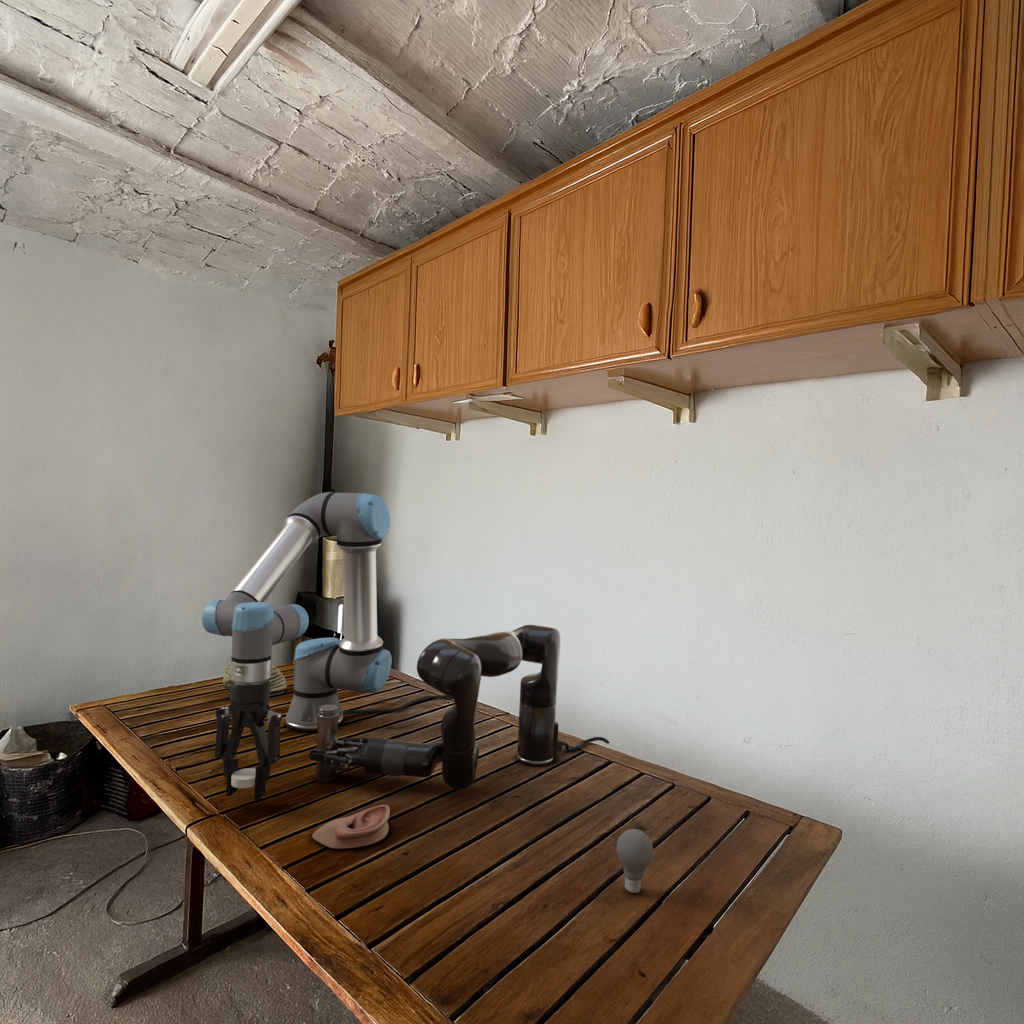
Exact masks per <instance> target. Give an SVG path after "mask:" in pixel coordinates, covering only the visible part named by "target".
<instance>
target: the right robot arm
mask: <svg viewBox="0 0 1024 1024" xmlns="http://www.w3.org/2000/svg"><path fill="white" fill-rule="evenodd" d="M562 643H563V641H562V634H561V631H560V630H559V629H558V628H556V627H551V626H545V625H536V624H525V625H522V626H519V627H518V628H515V629H513V630H510V631H508V630H506V631H498V632H497V631H496V632H492V633H488V634H485V635H478V636H472V637H467V638H466V637H465V638H439V639H436V640H434V641H433V642H431V643H429V644H428V645H427V646H426V647H425V648H424V649H423V650H422V651H421V653H420V655H419V657H418V659H417V662H416V672H417V675H418V676H419V678H420V680H421V681H422V682H424V683H425V684H426V685H427V686H429V687H431V688H432V689H434V690H435V691H438V692H440V693H442V695H447V696H449V697H452V698H451V699H453V702H454V705H452V706H450V708H449V709H447V710H446V711H445V713H444V714H443V717H442V719H441V724H440V734H441V741H440V740H439V741H435V742H429V743H425V742H415V741H413V742H412V741H408V740H407V741H406V740H402V739H394V738H393V739H392V738H382V737H371V738H369V737H343V738H341V739H342V740H339V739H338V745H337V750H336V751H326V750H317V748H316V749H315V748H314V749H311V750H310V751H309V760H310V761H315V762H316V761H324V762H325V767H327V768H331V769H335V770H337V771H339V772H343V773H347V772H349V770H350V769H349V768H350V767H360V766H361V767H362V768H363V771H364V773H365V774H369V775H370V774H371V775H380V776H390V777H413V778H415V777H416V778H429V777H431V776H432V775H433V773H434V771H435V769H436V767H438V765H439V764H440V763H441V776H442V781H444V783H445V785H447V787H448V788H449V789H452V790H454V791H465V790H466V789H468V788H470V787H471V786H472V784H473V783H474V781H475V778H476V773H477V768H478V762H479V758H480V757H479V756H480V748H479V746H478V744H476V727H475V717H476V710H477V704H478V700H479V693H480V686H481V680H482V677H487V678H496V677H500V676H503V675H506V674H509V673H512V672H513V671H515V670H516V669H518V667H519V666H520V665H521V662H528V663H534V664H540V665H541V668H540V671H539V672H535V673H530V674H526V675H524V676H522V677H521V679H520V683H519V684H520V686H519V704H518V705H519V706H518V707H519V708H518V711H519V712H518V728H517V729H518V730H517V731H518V732H517V745H516V751H517V752H516V759H517V760H518V761H519V762H520V763H523V764H525V765H529V766H536V767H537V766H539V767H540V766H547V765H550V764H552V763H553V762H557V761H558V753H559V752H563V746H564V748H565V751H567V752H575V751H579V750H581V749H582V748H583V746H584V745H586V744H589V743H592V742H596V741H601V742H604V743H605V744H608V745H609V744H610V742H611V741H610V740H608V738H605V737H603V736H594V737H590V738H587V739H584V740H582V741H580V742H579V744H578V745H576V746H575V745H574V746H572V747H570V746H569V743H568V742H566V741H563V740H561V739H560V738H559V722H558V721H557V701H558V700H557V699H558V698H557V696H558V683H559V679H560V678H559V677H560V665H561V655H562V647H563V646H562ZM335 755H337V756H335Z"/></svg>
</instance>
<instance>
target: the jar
mask: <svg viewBox="0 0 1024 1024" xmlns="http://www.w3.org/2000/svg"><path fill="white" fill-rule="evenodd" d="M337 711H338V707H337V706H336V705H323V706H321V707H320V708H319V713H318V726H317V732H316V750H326V751H336V750H337V745H338V741H339V726H338V719H339V713H338V712H337ZM335 756H337V755H335ZM337 772H338V770H335V769H331V768H327V767H325V762H324V761H315V780H316V782H318V783H330V782H333V781H335V780H336V779H337Z"/></svg>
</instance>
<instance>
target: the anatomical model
mask: <svg viewBox="0 0 1024 1024" xmlns="http://www.w3.org/2000/svg"><path fill="white" fill-rule="evenodd" d="M390 816H391V809H390V807H389V805H388V804H380V805H376V806H372V807H368V808H366V809H363V810H361V811H359V812H356V813H353V814H351V815H349V816H346V817H338V818H336V819H333V820H331V821H328V822H326V823H325V824H323V825H322V826H320V827H319V828H317V829H316V830H315V831H314V832H313V833H312V834H311V837H312V839H313V840H315V841H316V842H318V843H319V844H320V845H322V846H325V847H327V848H330V849H334V850H335V849H336V850H341V849H344V850H345V849H353V848H359V847H365V846H369V845H373V844H375V843H378V842H380V841H382V840H384V839H385V838H386V837H387V835H388V833H389V828H390V826H389V825H390V824H389V823H388V821H389V819H390Z"/></svg>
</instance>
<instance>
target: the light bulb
mask: <svg viewBox="0 0 1024 1024" xmlns="http://www.w3.org/2000/svg"><path fill="white" fill-rule="evenodd" d="M615 849H616V854H617V857H618V859H619V861H620V863H621V865H622V867H623V873H624V874H623V875H624V876H625V878H624V888H625V890H627V891H628V892H630V893H634V894H635V893H639V892H640V891H641V889H642V887H641V886H642V879H643V877H644V875H645V871H646V868H647V867H648V866H649V864H650V863H651V861H652V859H653V855H654V847H653V843H652V841H651V838H649V836H648V835H647V834H646V833H645V832H643V831H642V830H641V829H636V828H629V829H627V830H625V831H623V832H622V833H621V834H620V835H619V837H618V839H617V841H616V847H615Z"/></svg>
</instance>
